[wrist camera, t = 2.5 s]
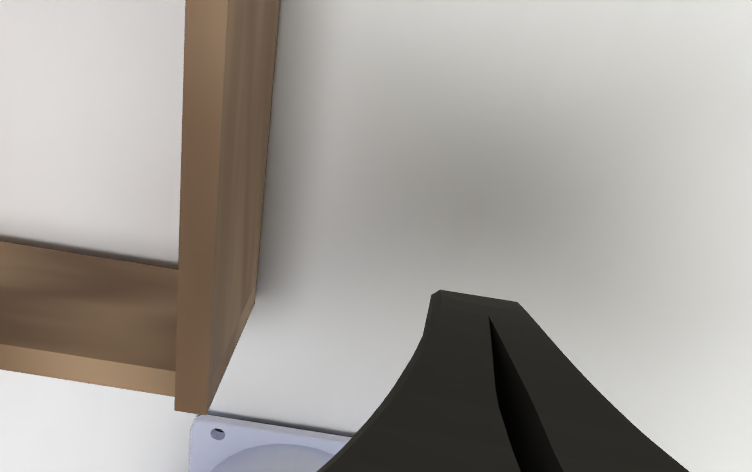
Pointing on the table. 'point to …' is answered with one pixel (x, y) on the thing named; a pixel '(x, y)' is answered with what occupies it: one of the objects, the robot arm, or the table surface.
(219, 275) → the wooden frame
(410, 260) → the table surface
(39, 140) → the table surface
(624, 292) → the table surface
